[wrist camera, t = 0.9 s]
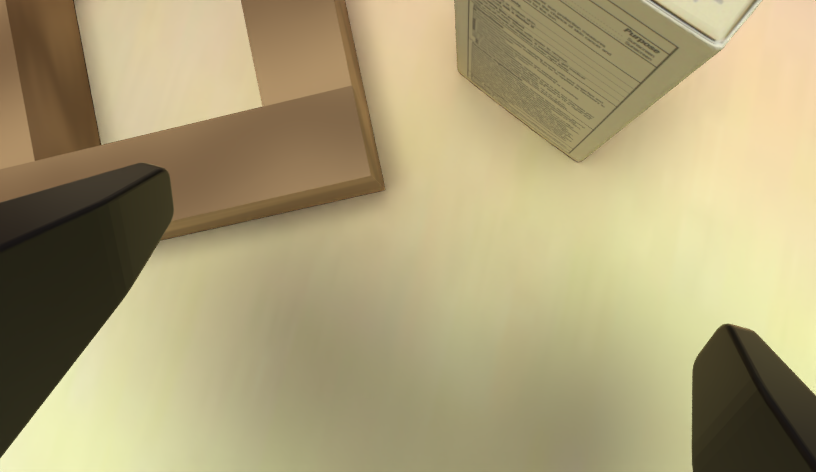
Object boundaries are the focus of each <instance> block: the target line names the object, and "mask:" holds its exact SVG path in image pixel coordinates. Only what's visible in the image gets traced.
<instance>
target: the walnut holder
mask: <svg viewBox="0 0 816 472" xmlns="http://www.w3.org/2000/svg"><path fill="white" fill-rule="evenodd" d="M241 3H242V8H243V13H244V17H245V22H246V27H247V32H248V37H249V42H250V47H251V52H252V56H253V61H254V66H255V71H256V76H257V81H258V86H259V91H260V96H261V100H262V105H263V107H259V108H255V109H251V110H247V111H242V112H238V113H234V114H230V115H226V116H221V117H217V118H213V119H209V120H205V121H201V122H196V123H192V124H188V125H184V126H180V127H175V128H171V129H167V130H163V131H159V132H154V133H150V134H146V135H142V136H138V137H133V138H129V139H125V140H121V141H117V142H112V143H108V144H104V145H100V140H99V134H98V129H97V124H96V119H95V113H94V108H93V103H92V97H91V92H90V87H89V82H88V76H87V71H86V66H85V61H84V55H83V50H82V45H81V39H80V34H79V29H78V24H77V18H76V13H75V8H74V2H73V0H0V202H3V201H7V200H10V199H14V198H17V197H21V196H24V195H28V194H31V193H35V192H38V191H42V190H45V189H49V188H52V187H56V186H59V185H63V184H66V183H70V182H73V181H77V180H80V179H84V178H88V177H91V176H95V175H98V174H102V173H105V172H109V171H112V170H116V169H119V168H123V167H126V166H130V165H133V164H137V163H141V162H144V163H149V164H152V165H156V166H160V167H163V168H165V169H166V170H167V171H168V173H169V175H170V180H171V188H172V196H173V204H174V214H173V218H172V221H171V223H170V225H169V226H168V228H167V230H166V231H165V233H164V235H163V236H162V238H161V240H165V239H169V238H174V237H178V236H183V235H187V234H192V233H196V232H200V231H205V230H209V229H214V228H218V227H223V226H227V225H232V224H236V223H240V222H245V221H249V220H254V219H258V218H263V217H267V216H272V215H276V214H280V213H285V212H289V211H294V210H298V209H303V208H307V207H312V206H316V205H321V204H325V203H329V202H334V201H338V200H343V199H347V198H352V197H356V196H361V195H365V194H369V193H374V192H378V191H383V190H385V186H384V181H383V176H382V172H381V167H380V162H379V158H378V153H377V148H376V144H375V139H374V134H373V130H372V125H371V120H370V116H369V111H368V106H367V102H366V97H365V92H364V88H363V83H362V78H361V74H360V69H359V64H358V60H357V55H356V50H355V46H354V41H353V36H352V32H351V27H350V22H349V18H348V13H347V8H346V3H345V0H241Z"/></svg>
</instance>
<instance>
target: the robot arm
mask: <svg viewBox="0 0 816 472" xmlns="http://www.w3.org/2000/svg"><path fill="white" fill-rule="evenodd" d="M173 214H174V204H173V196H172V188H171V180H170V175H169V173H168V171H167V170H166V169H165V168H163V167H160V166H156V165H152V164H149V163H144V162H141V163H137V164H133V165H130V166H126V167H123V168H119V169H116V170H112V171H109V172H105V173H102V174H98V175H95V176H91V177H88V178H84V179H80V180H77V181H73V182H70V183H66V184H63V185H59V186H56V187H52V188H49V189H45V190H42V191H38V192H35V193H31V194H28V195H24V196H21V197H17V198H14V199H10V200H7V201H3V202H0V458H1V457H2V455H3V454H4V453H5V452H6V450H7V449H8V448H9V446H10V445H11V444H12V443H13V441H14V440H15V439H16V437H17V436H18V435H19V433H20V432H21V431H22V430H23V428H24V427H25V426H26V424H27V423H28V422H29V421H30V419H31V418H32V417H33V415H34V414H35V413H36V411H37V410H38V409H39V408H40V406H41V405H42V404H43V402H44V401H45V400H46V399H47V397H48V396H49V395H50V393H51V392H52V391H53V390H54V388H55V387H56V386H57V384H58V383H59V382H60V380H61V379H62V378H63V377H64V375H65V374H66V373H67V371H68V370H69V369H70V368H71V366H72V365H73V364H74V362H75V361H76V360H77V358H78V357H79V356H80V355H81V353H82V352H83V351H84V349H85V348H86V347H87V346H88V344H89V343H90V342H91V340H92V339H93V338H94V336H95V335H96V334H97V333H98V331H99V330H100V329H101V327H102V326H103V325H104V324H105V322H106V321H107V320H108V318H109V317H110V316H111V314H112V313H113V312H114V311H115V309H116V308H117V307H118V305H119V304H120V303H121V301H122V300H123V299H124V297H125V296H126V295H127V293H128V292H129V290H130V289H131V287H132V286H133V284H134V282H135V281H136V279H137V278H138V276H139V274H140V273H141V271H142V269H143V268H144V266H145V264H146V263H147V261H148V259H149V258H150V256H151V254H152V253H153V251H154V249H155V248H156V246H157V244H158V243H159V241H160V240H161V238H162V236H163V235H164V233H165V231H166V230H167V228H168V226H169V225H170V223H171V221H172V218H173ZM692 466H693V472H816V395H815V394H814V393H813V392H812V391H811V390H810V389H809V388H808V387H807V386H806V385H805V384H804V383H803V382H802V381H801V380H800V379H799V378H798V376H797V375H796V374H795V373H794V372H793V371H792V370H791V369H790V368H789V367H788V366H787V365H786V364H785V363H784V362H783V361H782V360H781V359H780V358H779V357H778V355H777V354H776V353H775V352H774V351H773V350H772V349H771V348H770V347H769V346H768V345H767V344H766V343H765V342H764V341H763V340H762V339H761V338H760V337H759V336H758V334H756V333H755V332H754V331H752V330H750V329H747V328H743V327H739V326H736V325H732V324H723V325H722V326H720V327H719V328H718V329H717V330H716V332H715V333H714V334H713V336H712V337H711V338H710V340H709V341H708V342H707V344H706V345H705V346H704V348H703V349H702V350H701V352H700V353H699V354H698V356H697V357H696V360H695V362H694V365H693V376H692Z"/></svg>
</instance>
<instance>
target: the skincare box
mask: <svg viewBox="0 0 816 472" xmlns="http://www.w3.org/2000/svg"><path fill="white" fill-rule="evenodd" d="M761 2H762V0H454V3H455V5H454V6H455V28H456V49H457V68H458V71H459V72H460V73H461V74H462V75H463V76H464V77H466V78H467V79H468V80H469V81H470V82H472V83H473V84H474V85H476V86H477V87H478V88H479V89H481V90H482V91H483V92H484V93H486V94H487V95H488V96H489V97H491V98H492V99H493V100H495V101H496V102H497V103H498V104H500V105H501V106H502V107H504V108H505V109H506V110H508V111H509V112H510V113H511V114H513V115H514V116H515V117H517V118H518V119H519V120H521V121H522V122H523V123H525V124H526V125H527V126H529V127H530V128H531V129H532V130H534V131H535V132H537V133H538V134H539V135H541V136H542V137H543V138H545V139H546V140H547V141H549V142H550V143H551V144H553V145H554V146H556V147H557V148H558V149H560V150H561V151H563V152H564V153H565V154H567V155H568V156H570V157H571V158H572V159H574V160H575V161H577V162H581V161H582V160H584V159H585V158H586V157H587V156H589V155H590V154H591V153H593V152H594V151H595V150H596V149H597V148H599V147H600V146H601V145H602V144H604V143H605V142H606V141H607V140H609V139H610V138H611V137H612V136H614V135H615V134H616V133H618V132H619V131H620V130H621V129H623V128H624V127H625V126H626V125H628V124H629V123H630V122H631V121H633V120H634V119H635V118H636V117H638V116H639V115H640V114H641V113H643V112H644V111H645V110H647V109H648V108H649V107H650V106H651V105H652V104H654V103H655V102H656V101H657V100H659V99H660V98H661V97H662V96H664V95H665V94H666V93H668V92H669V91H670V90H671V89H673V88H674V87H675V86H676V85H678V84H679V83H680V82H681V81H683V80H684V79H685V78H686V77H688V76H689V75H690V74H691V73H693V72H694V71H695V70H696V69H698V68H699V67H700V66H701V65H703V64H704V63H705V62H707V61H708V60H709V59H710V58H712V57H713V56H714V55H715V54H717V53H718V52H719V51H720V50H722V49H723V48H724V47H725V45H726V44H727V43H728V42H729V40H730V39H731V38H732V37H733V35H734V34H735V33H736V32H737V30H738V29H739V28H740V27H741V26H742V24H743V23H744V22H745V21H746V20H747V19H748V18H749V17H750V15H751V14H752V13H753V12H754V10H755V9H756V8H757V7H758V5H759V4H760V3H761Z"/></svg>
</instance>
